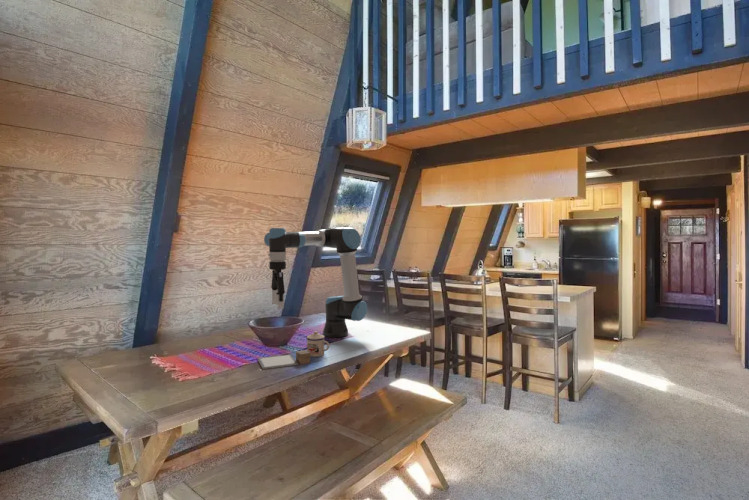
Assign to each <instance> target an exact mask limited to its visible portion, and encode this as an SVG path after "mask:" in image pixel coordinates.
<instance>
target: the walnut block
mask: <svg viewBox="0 0 749 500" xmlns="http://www.w3.org/2000/svg"><path fill="white" fill-rule="evenodd" d="M295 360H296V361H297V362H298V365H306V364H311V356H310V352H308V351H307V349H304V350H300V351H299V350H298V351H295Z"/></svg>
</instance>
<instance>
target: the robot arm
mask: <svg viewBox="0 0 749 500" xmlns="http://www.w3.org/2000/svg"><path fill="white" fill-rule="evenodd" d="M286 230H287V229H286V228H284V227H271V228H270V229H269V232H267V233H266V234H265V235H264V237H263V238H264V240H263V242H264V244H265V245H266V246H267V247H268V248H269V249H268V250H269V253H268V254H267V256H268V258H269V260H270V261H269V262H268V265H269V266H268V267H269V269H270V270H271V271H272V272H271V273H272V274H271V275H272V276H271V286H270V288H271V290H272V291H271V295H272V297H271V298H272V299H271V301H272V302H271V303H272V305H276V304H277V307H276V308H277V309H278V310H279V309H280V310H281V309H284V308H285V307H284V306H285V298H284V295H285V293H286V292H285V282H284V281H285V280H284V272H283V271H282V270H286V268H287V262H286V260H287V250H286V249H287V248H288V249H293V248H295V249H298V248H302V247H305V246H316V247H321V248H322V247H324V248H332V249H336V253H337V254H338V255H339V260H340V268H341V276H342V285H343V294H344V295H335V296H329V297H327V298H326V299H325V323H324V327H323V330H322V335H324V337H325V338H344V337H348V335H349V330H348V326H347V323H346V320H349V321H353V322H355V321H356V322H360V321H363V319H364V318H365V317H366V315H367V313H368V303H367V302H366V301H364V300H363V296H362V295H361V294H360V291H359V289H360V288H359V279H358V270H357V260H356V253H357V252H358V248H359V247H360V245H361V235H360V232H359V231H358V230H357V229H356V228H353V227H330V228H325V229H315V231H286Z"/></svg>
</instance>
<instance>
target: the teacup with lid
mask: <svg viewBox="0 0 749 500" xmlns="http://www.w3.org/2000/svg"><path fill="white" fill-rule="evenodd" d="M325 338H326V336H324V335H323V334H321V333H319V332H318V330H317V331H316V330H315V331H313V333H311V334H309V335H307V336H306V350H307V351H308V352H310V358H311V357H312V358H318V357H323V356H324V355H325V352H326V351H328V350H329V349H330V343H329V342H328V341H326V340H325ZM325 344H326V346H327V347H326V349H325Z"/></svg>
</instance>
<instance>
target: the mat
mask: <svg viewBox="0 0 749 500" xmlns="http://www.w3.org/2000/svg"><path fill="white" fill-rule="evenodd" d="M257 360H258V361H257V362H259V364H260V366H261V368H262V370H269V369H277V368H285V367H292V366H298V365H299V364H298V362H297V361H296V358H295V357H294V356H293V354H292V353H291V354H290V353H288V354H281V355H272V356H262V357H261V356H260V357H257Z"/></svg>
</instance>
